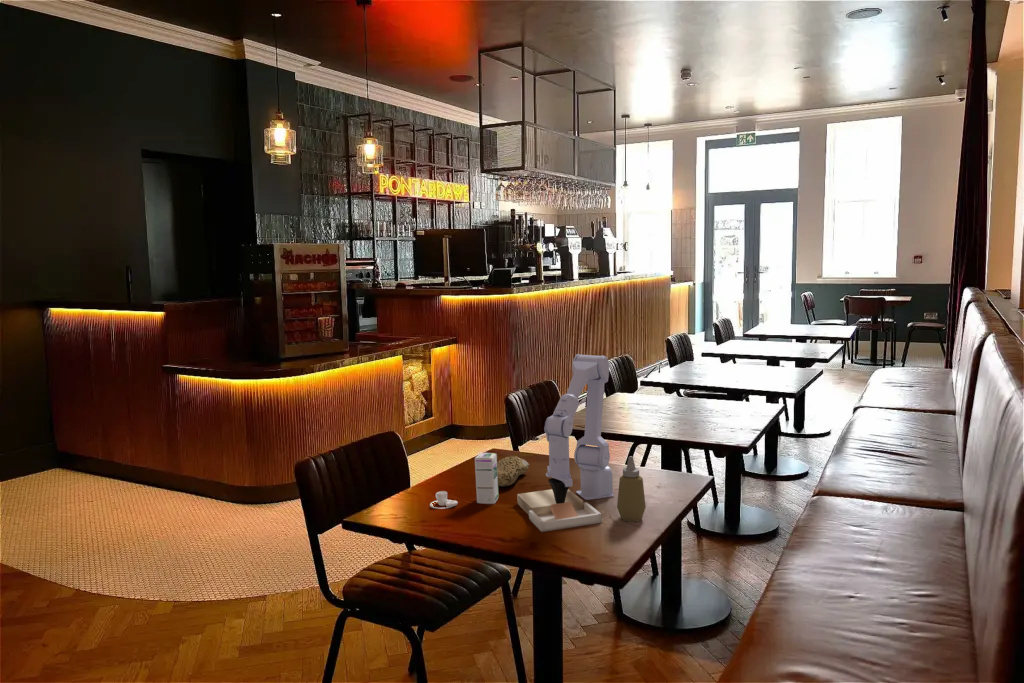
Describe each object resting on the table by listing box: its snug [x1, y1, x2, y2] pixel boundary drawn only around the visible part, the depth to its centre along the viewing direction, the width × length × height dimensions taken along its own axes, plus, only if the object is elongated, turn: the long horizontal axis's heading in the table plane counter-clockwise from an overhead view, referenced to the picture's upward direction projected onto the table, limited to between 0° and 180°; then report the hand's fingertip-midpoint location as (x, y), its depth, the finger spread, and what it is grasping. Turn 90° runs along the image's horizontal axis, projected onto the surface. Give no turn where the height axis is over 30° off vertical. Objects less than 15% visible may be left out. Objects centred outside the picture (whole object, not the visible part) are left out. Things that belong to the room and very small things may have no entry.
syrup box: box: [474, 452, 500, 505], centre depth 221 cm, size 6×6×14 cm
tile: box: [550, 502, 578, 520], centre depth 203 cm, size 6×6×2 cm
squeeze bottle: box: [616, 455, 647, 523], centre depth 203 cm, size 8×8×18 cm
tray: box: [528, 501, 603, 533], centre depth 203 cm, size 18×10×2 cm, turn 108°
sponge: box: [497, 455, 530, 487], centre depth 240 cm, size 13×8×20 cm
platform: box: [516, 488, 584, 516], centre depth 214 cm, size 16×13×3 cm
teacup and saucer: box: [429, 490, 459, 510], centre depth 219 cm, size 9×8×4 cm
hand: (560, 503), depth 206 cm, fingers closed
